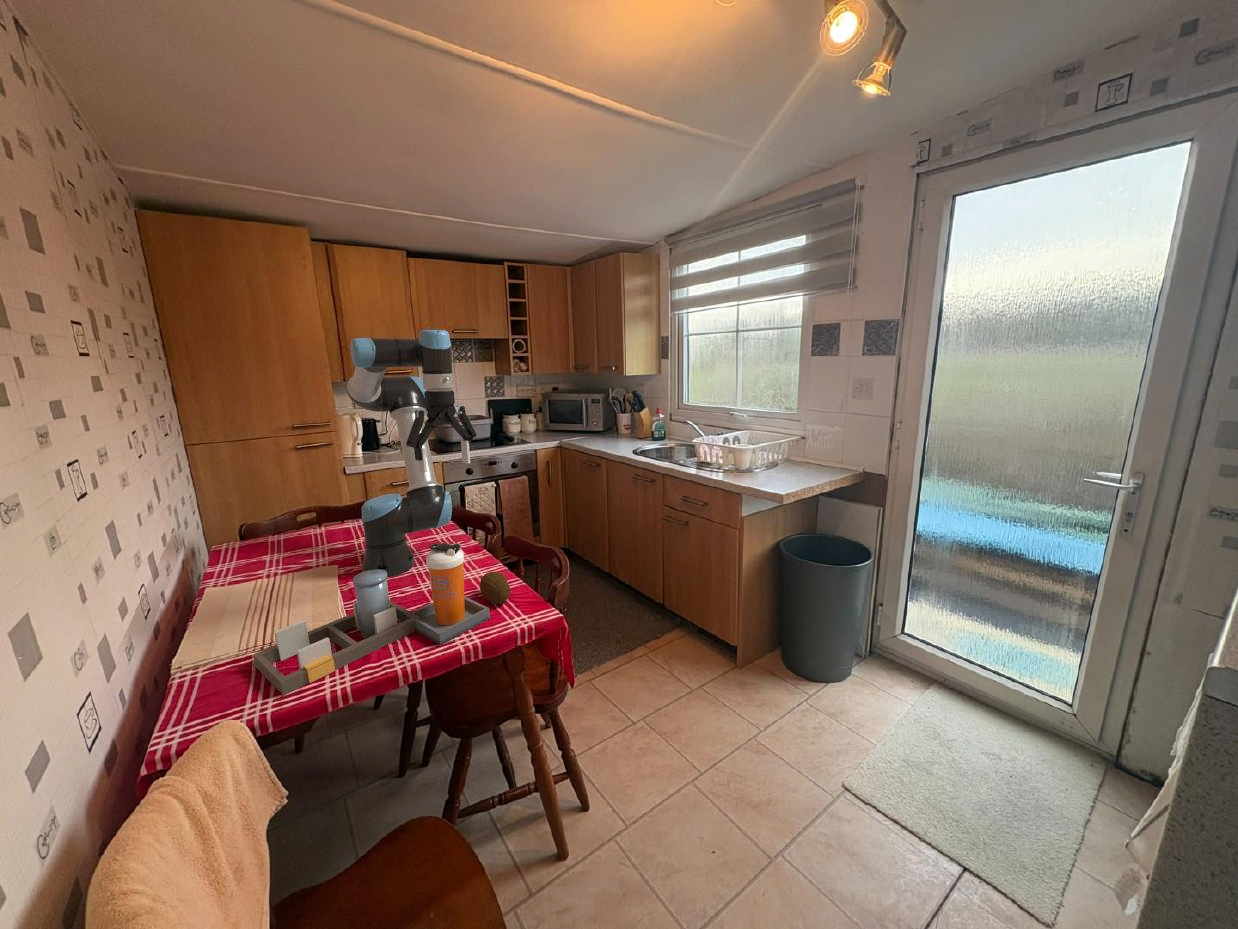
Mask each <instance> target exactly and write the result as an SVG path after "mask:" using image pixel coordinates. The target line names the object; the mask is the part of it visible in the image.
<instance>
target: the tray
mask: <svg viewBox="0 0 1238 929" xmlns="http://www.w3.org/2000/svg"><path fill="white" fill-rule="evenodd" d="M464 601H465V617H464V619H463V620H462V621H460V622H458V623H456V624H453V625H440V624H438V623H437V622H436V617H435V610H434V603H433V602H430V603H428V604H426V605H424V606H422V607H420V608H418V609H415V610H413V611H410V612H411V613H413V614H415V615H417V616H419V617H420V620H419V619H418V618H414V616H411V615H410V614H409V615H407V614H406V620H408V619H410V618H412V619H414V620H415V619H416V620H415V628H416V631H415V632H417V633H419V634H421V635H423V636H424V637H425V638H427V639H429V640H430V641H432V642H434V643H435V644H438V645H439V646H442V645H444V644H446V643H448V642H450V641H451V639H452V640H454V639H455V638H457V637H459V636H461V635H463V634H465V633H466V632H469V631H470V630H472V629H474V628H476V627H478V626H479V624H480V625H482V624H483V623H486V622H487V621H488V619H489V620H490V619H491V613H490V608H489V607H488V606H486V605H483V604H481V603H479V602H478V601H475V600H473V599H470V598H469V597H466V596H464ZM486 620H487V621H486ZM475 626H476V627H475ZM464 632H465V633H464ZM462 633H463V634H462ZM453 638H454V639H453Z"/></svg>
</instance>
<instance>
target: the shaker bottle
mask: <svg viewBox="0 0 1238 929" xmlns="http://www.w3.org/2000/svg"><path fill="white" fill-rule="evenodd" d="M428 548H429V550H431V551H430V552H428V554H427V556H426V561H425V562H426V567H427V570H428V576H429V583H430V590H431V596H432V603H434V610H435V617H436V622H437V623H438V624H440V625H453V624H456V623H458V622H460V621H462V620H463V619H464V617H465V601H464V597H465V574H464V570H465V569H464V567H465V566H464V562H465V555H464V554H465V553H464V552H463V550H462V546H461V544H460V543H458V542H454V543H453V544H450V543H444V542H443V543H441V542H440V543H439V542H436V543H432V544H430V545H429V546H428Z"/></svg>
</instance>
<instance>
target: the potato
mask: <svg viewBox="0 0 1238 929" xmlns="http://www.w3.org/2000/svg"><path fill="white" fill-rule="evenodd" d="M506 577H507V576H505V575H504V573H503V572H499V571H489V572H487V573H485V574H484V575H483V576H482V577H481V579H480V580H479V581H480V582H479V591H480V594H481V595H482V597H483V598H484V599H485V600H486V601H488V602H489V603H491V604H494V605H495V604H496V605H500V604H503V603H505V602H506V601H507V600H508V599H509V598H510V595H511V587H510V584H509V583H508V578H506Z"/></svg>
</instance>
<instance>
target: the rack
mask: <svg viewBox="0 0 1238 929" xmlns="http://www.w3.org/2000/svg"><path fill="white" fill-rule="evenodd" d="M389 602H390V608H389V609H387V610H384V611H382V612H380V613H377V614H375V615H373V619H374V626H375V635H373V636H371V637H369V638H367V639H366V638H364V639H363V640H360V641H356V640H354V639H353V638H351V637H350V636H349V635H348V634H346V633H345V632H346V631H349V630H351V629H354V628H356V629H357V630H361V629H360V621H359V614H358V607H357V600H356V601H354V602H352V608H353V613H350V614H348V615H346V616H344V617H340V618H338V619H336V620H333V621H332V622H328V623H325V624H324V625H321V626H319V627H317V628H314V629H312V630H309V631H308V626H307V621H306V620H305V619H304V620H301V621H298V622H296V623H292V624H290V625H288V626H285V627H283V628H280V629H277V630H275V631H274V637H275V642H276V644H275V645H273V646H271V647H268V648H266V649H264V650H263V649H262V650H261V651H258V652H255V653H254V654H252V657H253V662H254V668H256V669H257V670H258V671H259V672H260V673H261V674H262V675H263V676H264V677H265V678H266V680H268V682H270V684H271V685H272V686H273V687H275V689H276V690H277V691H278V692H280V694H281V695H283V696H285V695H287V694H290V693H293V691H296V690H298V689H300V688H301V687H304V686H306V685H308V684H310V683H311V684H312V683H313V682H315V681H317V680H320V679H322V678H323V677H326V676H328V675H330V674H332V673H333V672H336V671H337V670H339V669H340V668H342V667H344V666H347V665H349V664H351V663H353V662H355V661H357V660H359V659H360V658H363V657H365V656H367V655H369V654H371V653H373V652H376V651H377V650H380V649H381V648H384V647H386V646H387V645H390V644H392V643H394V642H396V641H397V640H400V639H402V638H404V637H406V636H408V635H410V634H412V633H414V632H417V631H416V628H415V620H416V619H415V620H414V619H412V618H410V619H408V620H406V614H407V615H409V614H410V615H411V616H414V618H418V619H419V620H420V617H419V616H417V615H415V614H413V613H411V612H412V611H410V610H408V609H406V608H404V607H402V606H401V605H399V604H397V603H396V602H394V601H392V600H390V599H389ZM398 620H399V621H401V622H399V623H398ZM331 641H332V642H334V643H335V644H336V645H337V646H339V647H340V648H341V650H338V651H336V652H334V653H333V651H332V646H331V645H332V644H331ZM295 655H296V656H297V660H298V667H299V669H297V670H296V671H293V672H290V673H289V674H287V675H284V674H283V673H282V672H280V671H279V669H278V668H276V667H275V665H274V663H275V662H278V661H280V662H282V661H284V660H287V659H289V658H292V657H293V656H295Z"/></svg>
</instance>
